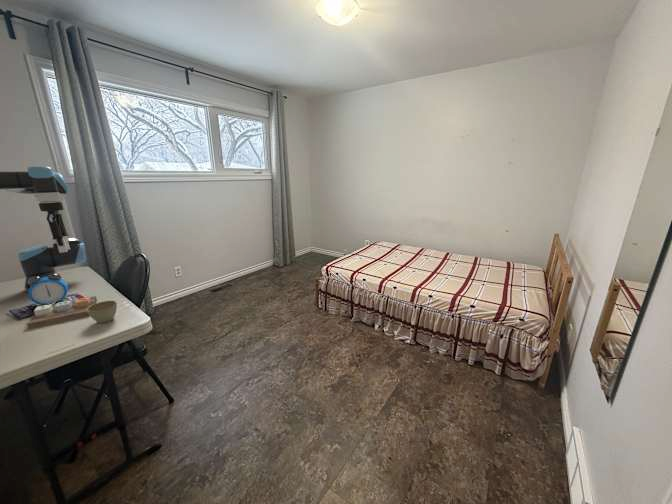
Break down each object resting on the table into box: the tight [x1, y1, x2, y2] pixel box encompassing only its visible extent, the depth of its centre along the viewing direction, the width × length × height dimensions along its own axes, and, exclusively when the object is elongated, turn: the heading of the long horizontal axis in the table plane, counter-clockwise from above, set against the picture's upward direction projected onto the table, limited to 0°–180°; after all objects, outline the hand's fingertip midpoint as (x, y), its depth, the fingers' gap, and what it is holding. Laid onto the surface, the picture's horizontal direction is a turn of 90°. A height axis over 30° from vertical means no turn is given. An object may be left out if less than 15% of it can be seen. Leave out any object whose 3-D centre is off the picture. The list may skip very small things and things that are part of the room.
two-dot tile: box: [55, 299, 73, 312], centre depth 124 cm, size 5×5×3 cm
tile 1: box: [33, 304, 53, 316], centre depth 120 cm, size 5×5×3 cm
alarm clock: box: [27, 272, 69, 306], centre depth 133 cm, size 13×6×15 cm, turn 132°
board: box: [26, 295, 98, 329], centre depth 124 cm, size 18×20×2 cm
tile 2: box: [75, 296, 91, 308], centre depth 127 cm, size 5×5×3 cm
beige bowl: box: [87, 300, 118, 324], centre depth 117 cm, size 10×10×7 cm
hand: (64, 250), depth 129 cm, fingers open, 4 cm apart
